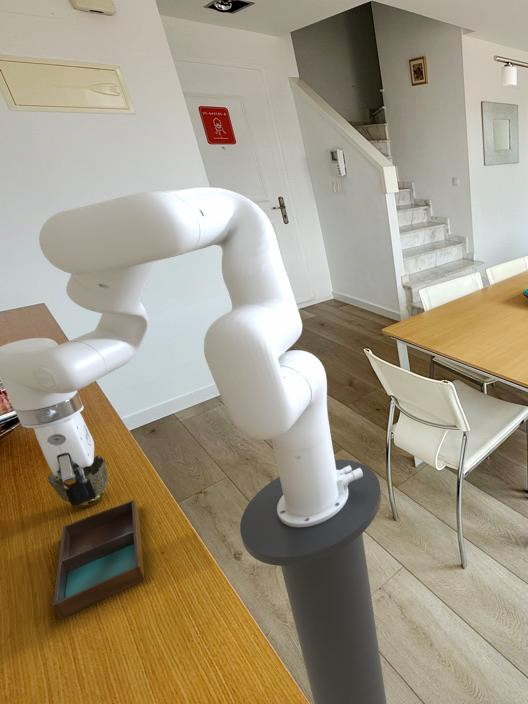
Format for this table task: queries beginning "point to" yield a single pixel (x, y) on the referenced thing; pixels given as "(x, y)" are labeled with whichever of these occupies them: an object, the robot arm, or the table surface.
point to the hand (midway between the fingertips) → (85, 488)
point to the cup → (93, 472)
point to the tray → (98, 558)
